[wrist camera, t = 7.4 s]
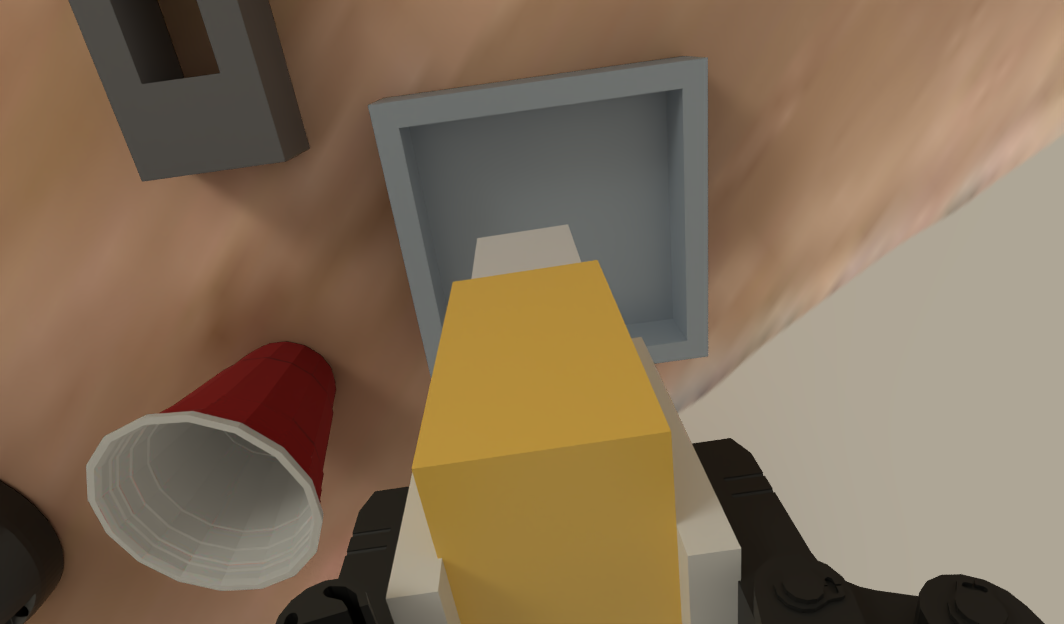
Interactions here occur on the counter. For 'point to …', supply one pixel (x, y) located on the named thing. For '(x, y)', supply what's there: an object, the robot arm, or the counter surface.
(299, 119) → the block
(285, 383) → the plastic cup
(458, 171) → the parts tray
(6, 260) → the counter surface
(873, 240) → the counter surface
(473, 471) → the block
